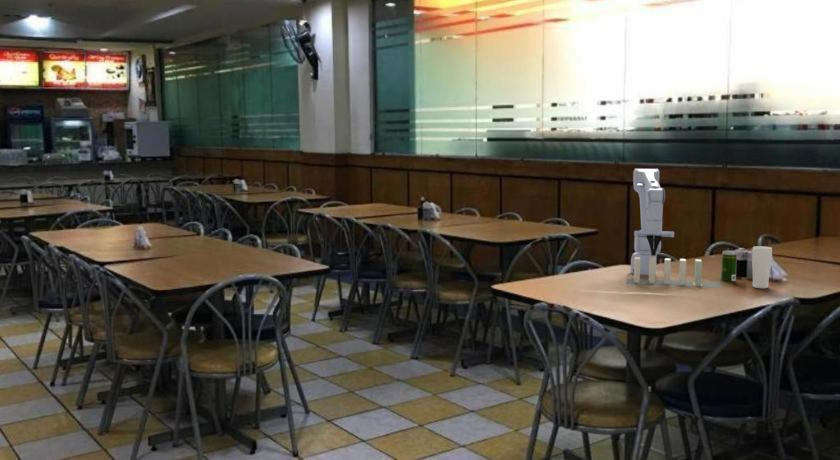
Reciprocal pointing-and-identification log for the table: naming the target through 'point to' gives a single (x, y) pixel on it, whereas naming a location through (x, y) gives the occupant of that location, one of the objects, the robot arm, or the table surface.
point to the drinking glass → (761, 266)
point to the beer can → (728, 266)
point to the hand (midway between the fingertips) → (653, 255)
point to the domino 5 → (698, 272)
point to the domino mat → (676, 283)
